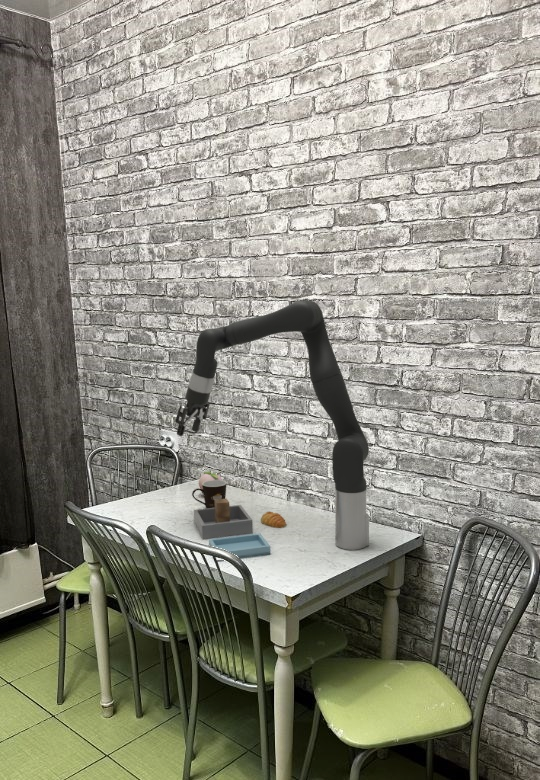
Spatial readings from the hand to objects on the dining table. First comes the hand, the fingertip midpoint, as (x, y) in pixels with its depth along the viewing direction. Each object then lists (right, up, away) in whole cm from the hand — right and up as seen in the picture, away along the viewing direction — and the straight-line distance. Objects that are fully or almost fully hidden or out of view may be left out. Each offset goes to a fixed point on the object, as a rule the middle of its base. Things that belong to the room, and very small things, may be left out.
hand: (187, 433), depth 208 cm
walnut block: (+12, -30, -4) cm, 33 cm away
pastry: (+29, -31, 0) cm, 42 cm away
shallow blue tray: (+18, -33, -22) cm, 44 cm away
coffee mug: (+6, -29, +15) cm, 33 cm away
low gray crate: (+12, -31, -4) cm, 33 cm away
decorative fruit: (+5, -26, +32) cm, 42 cm away
